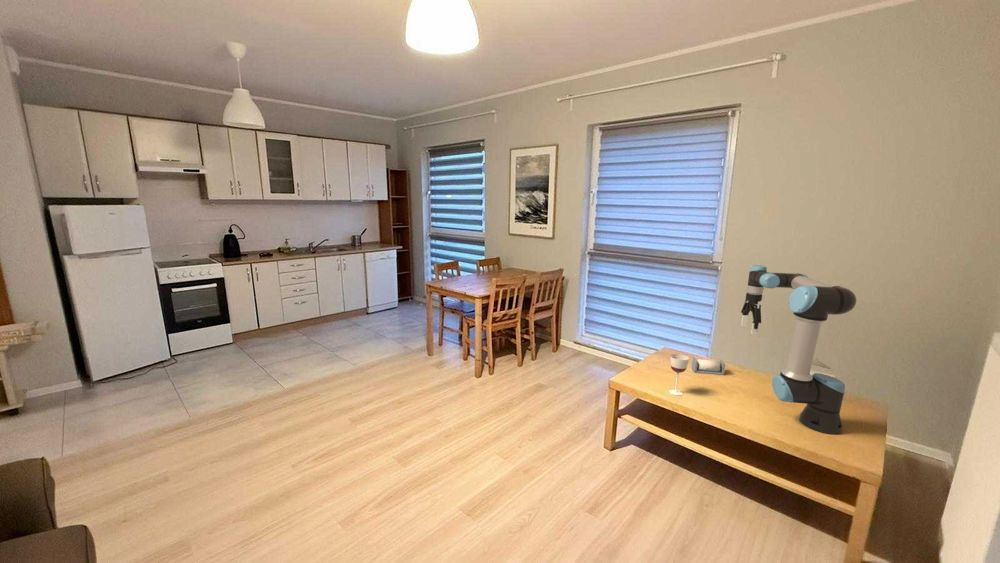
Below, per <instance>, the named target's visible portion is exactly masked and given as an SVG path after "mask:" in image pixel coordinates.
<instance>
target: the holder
mask: <svg viewBox="0 0 1000 563" xmlns="http://www.w3.org/2000/svg"><path fill="white" fill-rule="evenodd" d="M697 360H698V359H696V357H692V360H691V370H692V372H693V373H695V374H706V375H715V376H725V370H726V363H725V362H724V360H722V359H719V362H720V370H719V371H709V370H698V369H697V364H698V361H697Z"/></svg>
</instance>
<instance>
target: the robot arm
mask: <svg viewBox="0 0 1000 563" xmlns="http://www.w3.org/2000/svg"><path fill="white" fill-rule="evenodd" d="M767 270H768V269H767V266H765V265H759V264H753V265H751V266H750V268H749V273H748V280H747V285H746V294H745V300H744V303H743V307H742V309H741V311H740V313H741V314H742V316H741V323H740V324H741V325H740V327H748V321H749V313H750V312H751V314H752V320H753V321H751V322H752V324H751V332H750V334H751V335H758V331H759V326H760V325H759V324H762V311H761V308H762V305H761V304H759V302H762V300H763V293H764V290H765V289H775V288H782V289H783V288H785V289H793V291H792V292H791V293H790V297H789V300H788V304H789V309H790V311H791V312H793V316H794V317H795V319H796V320H795V324H794V329H793V334H792V338H791V342H790V347H789V352H788V356H787V361H786V364H785V367H783V368H781V369H780V374H775V375H774V376H773V377H772V380H771V386H772V390H773V393H774V395H775V397H776V398H777V399H778V400H780V401H781V402H785V403H791V404H793V403H795V404H806V405H805V407H804V408H803V409H802V411H801V412H800V413H799V418H798V420H799V421H800V423H802V424H803V425H804V426H805V427H807V428H809V429H811V430H814V431H816V432H820V433H823V434H829V435H837V434H840V433H842V430H843V425H842V424H843V423H842V420H841V410H842V404H843V399H844V395H845V391H846V390H845V389H846V385H845V383H844V382H843V381H841V380H840V379H838V378H837V377H834V376H831V375H828V374H825V373H819V372H814V373H813V374H811V369H812V365H813V364H812V363H813V360H814V356H815V352H816V349H817V348H816V347H817V344H818V339H819V336H820V332H821V331H820V330H821V326H822V324H823V323H825V322H827V320H828V317H829V315H833V316H834V315H835V316H836V315H844V314H846V313H849V312H851V311H853V309H854V308H855V307H856V305H857V297H856V294H855V293H854V292H853V291H852V290H850V289H849V288H847V287H843V286H841V285H840V286H839V285H834V286H832V285H830V284H826V283H823V282H820V281H817V280H815V279H812V278H809V277H808V275H807V274H805V273H788V272H787V273H785V272H770V271H769V272H768V271H767Z"/></svg>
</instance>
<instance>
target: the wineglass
mask: <svg viewBox="0 0 1000 563" xmlns="http://www.w3.org/2000/svg"><path fill="white" fill-rule="evenodd" d="M689 361H690V358H689V356H687V355H684V354H679V353H673V354H670V369H671V370H672V371H673V372H675V373H676V379H675V388H673V389H671V390H670V389H668V390H669V392H670V393H671V394H674V395H682V394H683V395H684V392H683V391H681V390H678V384H679V383H678V382H679V381H678V380H679V375H680V373H684V372H685V371H686V370H687V368H688V364H689ZM674 389H675V390H674ZM680 391H681V392H680ZM670 393H669V394H670ZM671 394H670V395H671ZM674 395H673V396H674ZM683 395H682V396H683Z"/></svg>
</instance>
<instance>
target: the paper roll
mask: <svg viewBox="0 0 1000 563" xmlns="http://www.w3.org/2000/svg"><path fill="white" fill-rule="evenodd" d="M696 360H697V361H698V364H697V369H698V370H709V371H719V370H720V360H712V359H711V360H710V359H699V358H698V359H696Z"/></svg>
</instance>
